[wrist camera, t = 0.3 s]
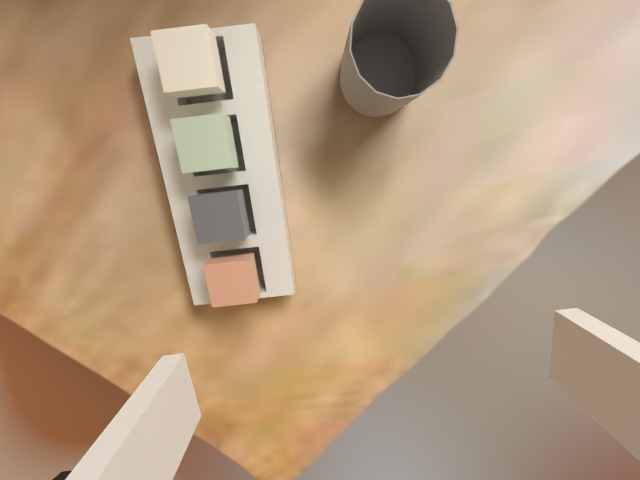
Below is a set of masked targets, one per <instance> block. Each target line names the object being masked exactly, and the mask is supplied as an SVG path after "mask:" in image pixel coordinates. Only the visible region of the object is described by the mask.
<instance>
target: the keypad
mask: <svg viewBox="0 0 640 480" xmlns="http://www.w3.org/2000/svg"><path fill="white" fill-rule="evenodd" d="M210 29H211V30H212V32H213V33H214V34H215V36H216V42H217V47H218V50H219V55H220V61H221V67H222V73H223V78H224V84H225V90H226V93H220V94H212V95H203V96H195V97H183V98H174V97H172V96H170V95H168V94H166V93H164V91H163V86H162V82H161V77H160V73H159V68H158V64H157V59H156V55H155V51H154V46H153V42H152V37H151V36H144V37H136V38H130V41H131V45H132V49H133V54H134V58H135V62H136V66H137V70H138V74H139V79H140V83H141V87H142V91H143V95H144V99H145V104H146V108H147V112H148V116H149V120H150V124H151V129H152V133H153V137H154V141H155V145H156V149H157V153H158V158H159V162H160V166H161V170H162V174H163V178H164V183H165V187H166V191H167V195H168V199H169V203H170V208H171V212H172V216H173V220H174V224H175V228H176V233H177V237H178V241H179V245H180V249H181V253H182V257H183V262H184V266H185V270H186V274H187V278H188V282H189V287H190V291H191V295H192V299H193V303H194V305H202V304H211V301H210V296H209V292H208V287H207V283H206V278H205V274H204V269H203V264H204V263H206V262H207V261H208V260H209V259H210V258H217V257H220V256H227V255H236V254H245V253H254V255H255V261H256V267H257V272H258V278H259V284H260V285H259V286H260V292H261V294H260V297H259V298H266V297H275V296H285V295H294V293H295V287H296V278H295V271H294V264H293V257H292V250H291V243H290V236H289V229H288V222H287V215H286V208H285V201H284V193H283V186H282V179H281V172H280V165H279V158H278V151H277V144H276V137H275V130H274V123H273V116H272V109H271V102H270V94H269V87H268V80H267V73H266V66H265V59H264V52H263V45H262V38H261V36H260V34H259V31H258V29H257V27H256V24H255V23H251V24H243V25H235V26H226V27H218V28H210ZM218 113H223V114H225V115H227V116H229V117H230V121H231V124H232V130H233V135H234V141H235V147H236V152H237V158H238V167H237V168H229V169H220V170H211V171H203V172H194V173H182V171H181V167H180V162H179V158H178V153H177V149H176V144H175V140H174V135H173V131H172V126H171V122H170V119H176V118H184V117H193V116H201V115H210V114H218ZM239 189H243V192H244V198H245V204H246V209H247V215H248V221H249V229H250V235H249V236H248V237H247V238H246V239H243V240H234V241H225V242H216V243H207V244H198V243H197V238H196V234H195V229H194V225H193V220H192V216H191V211H190V207H189V202H188V198H187V197H188V196H192V195H196V194H204V193H213V192H221V191H230V190H239Z"/></svg>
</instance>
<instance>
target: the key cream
mask: <svg viewBox="0 0 640 480" xmlns="http://www.w3.org/2000/svg"><path fill="white" fill-rule="evenodd" d="M150 33H151V37H152V42H153V46H154V51H155V55H156V59H157V64H158V68H159V73H160V77H161V82H162V86H163V91H164V93H166V94H168V95H170V96H172V97H174V98H183V97H195V96H203V95H212V94H220V93H226V90H225V84H224V78H223V73H222V67H221V61H220V55H219V50H218V47H217V42H216V36H215V34H214V33H213V32H212V30H211V29H210V28H209V27H208V25H207V24H201V25H193V26H185V27H176V28H168V29H160V30H152V31H150Z"/></svg>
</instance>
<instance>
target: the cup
mask: <svg viewBox="0 0 640 480" xmlns="http://www.w3.org/2000/svg"><path fill="white" fill-rule="evenodd" d="M457 36H458V25H457V21H456V18H455V14H454V10H453V7H452V3H451V1H450V0H362V2H361V4H360V6H359V8H358V10H357V12H356V14H355V16H354V18H353V20H352V22H351V25H350V29H349V33H348V37H347V41H346V45H345V49H344V53H343V57H342V61H341V65H340V82H339V85H340V88H341V90H342V93H343V96H344V98H345V101H346V102H347V103H348V104H349V105H350V106H351V107H352V108H353V109H354V110H355V111H356V112H357V113H358V114H361V115H365V116H368V117H371V118H378V117H383V116H388V115H391V114H393V113H394V112H396V111H397V110H399V109H400V108H402V107H403V106H405V105H406V104H408V103H409V102H411V101H412V100H414V99H415V98H417V97H418V96H420V95H421V94H423V93H424V92H425V91H427V90H428V89H429V88H431V87H432V86H433V85H435V84H436V83H437V82H439V81H440V80H441V79H442V77H443V76H444V74H445V72H446V70H447V69H448V67H449V65H450V63H451V62H452V60H453V58H454V57H455V50H456V43H457Z"/></svg>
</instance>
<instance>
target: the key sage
mask: <svg viewBox="0 0 640 480" xmlns="http://www.w3.org/2000/svg"><path fill="white" fill-rule="evenodd" d="M170 122H171V126H172V131H173V135H174V140H175V144H176V149H177V153H178V158H179V162H180V167H181V171H182V173H194V172H203V171H211V170H220V169H229V168H237V167H238V158H237V152H236V147H235V141H234V135H233V130H232V124H231V121H230V117H229V116H227V115H225V114H223V113H218V114H210V115H201V116H193V117H184V118H176V119H170Z"/></svg>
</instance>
